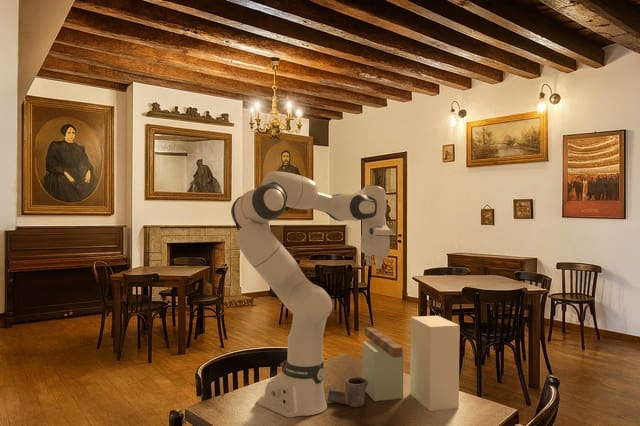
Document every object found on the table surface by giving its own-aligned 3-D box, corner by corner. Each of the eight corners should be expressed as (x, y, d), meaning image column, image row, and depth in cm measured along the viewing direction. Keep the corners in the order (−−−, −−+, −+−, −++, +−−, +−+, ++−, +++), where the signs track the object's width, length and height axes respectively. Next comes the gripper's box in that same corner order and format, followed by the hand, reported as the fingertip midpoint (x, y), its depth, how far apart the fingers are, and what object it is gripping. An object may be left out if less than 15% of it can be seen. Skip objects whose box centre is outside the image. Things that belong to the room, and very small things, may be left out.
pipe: (329, 399, 151) (329, 375, 151) (368, 402, 149) (369, 377, 149) (326, 407, 145) (326, 381, 145) (367, 410, 143) (367, 384, 143)
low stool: (362, 387, 161) (362, 341, 161) (388, 385, 164) (389, 340, 164) (374, 401, 150) (374, 351, 150) (402, 398, 152) (403, 349, 152)
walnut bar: (364, 335, 169) (365, 327, 169) (372, 335, 170) (372, 327, 170) (393, 357, 144) (393, 347, 144) (402, 356, 145) (402, 347, 145)
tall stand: (410, 393, 156) (410, 316, 156) (436, 391, 159) (437, 315, 158) (429, 411, 142) (430, 327, 142) (458, 408, 145) (459, 325, 145)
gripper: (356, 228, 179) (356, 264, 179) (376, 230, 159) (375, 270, 159) (372, 228, 181) (371, 263, 181) (393, 230, 161) (392, 270, 161)
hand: (373, 267), depth 170 cm, fingers open, 8 cm apart
